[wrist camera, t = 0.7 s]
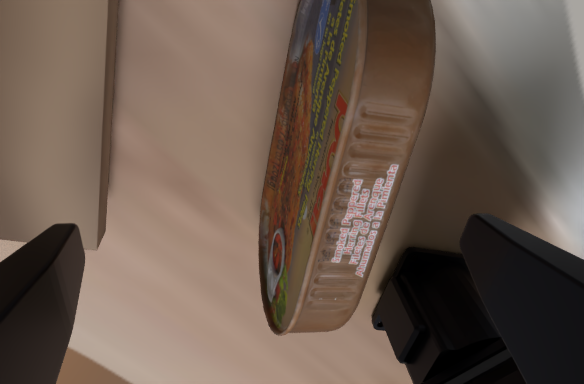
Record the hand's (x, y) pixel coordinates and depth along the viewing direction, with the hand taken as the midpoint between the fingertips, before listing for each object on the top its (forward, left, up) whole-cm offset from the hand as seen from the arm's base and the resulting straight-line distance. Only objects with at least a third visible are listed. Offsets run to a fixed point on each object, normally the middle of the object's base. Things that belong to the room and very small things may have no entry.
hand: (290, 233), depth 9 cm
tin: (-3, +1, -11) cm, 12 cm away
